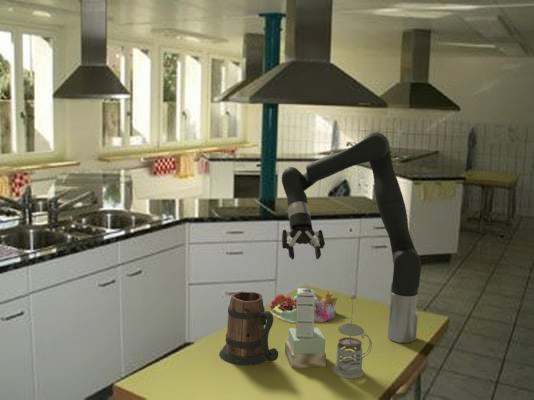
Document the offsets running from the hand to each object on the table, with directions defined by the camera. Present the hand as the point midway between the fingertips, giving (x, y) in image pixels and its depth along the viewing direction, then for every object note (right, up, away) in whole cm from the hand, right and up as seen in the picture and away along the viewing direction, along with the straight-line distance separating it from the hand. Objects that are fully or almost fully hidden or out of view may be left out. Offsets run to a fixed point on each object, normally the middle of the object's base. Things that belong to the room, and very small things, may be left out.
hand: (305, 258), depth 192 cm
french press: (+14, -34, -11) cm, 39 cm away
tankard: (-18, -32, -4) cm, 37 cm away
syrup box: (-1, -24, -6) cm, 25 cm away
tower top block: (0, -28, -4) cm, 29 cm away
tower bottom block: (-1, -33, -4) cm, 33 cm away
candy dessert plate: (+2, -26, +38) cm, 47 cm away
